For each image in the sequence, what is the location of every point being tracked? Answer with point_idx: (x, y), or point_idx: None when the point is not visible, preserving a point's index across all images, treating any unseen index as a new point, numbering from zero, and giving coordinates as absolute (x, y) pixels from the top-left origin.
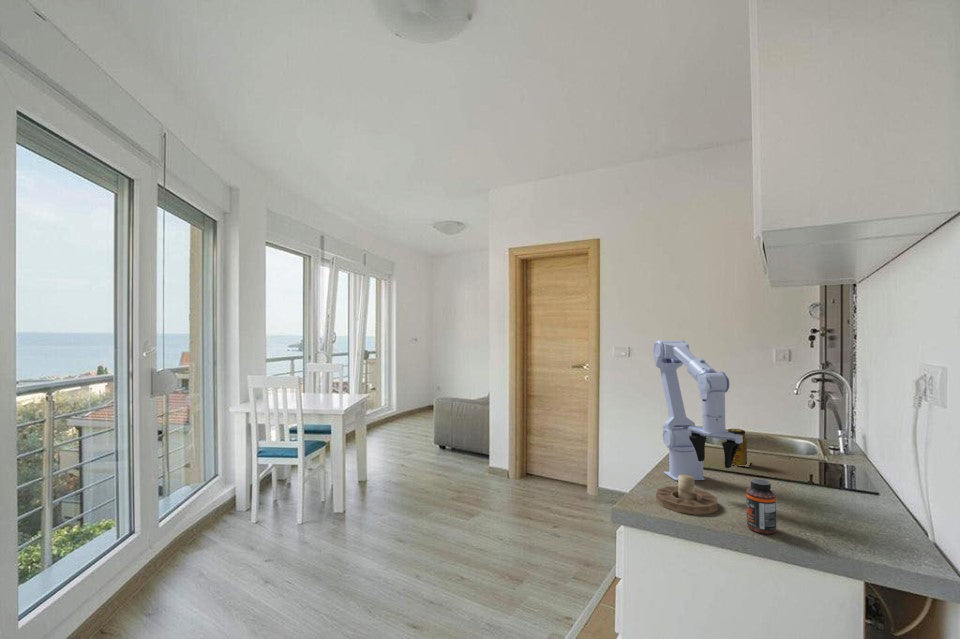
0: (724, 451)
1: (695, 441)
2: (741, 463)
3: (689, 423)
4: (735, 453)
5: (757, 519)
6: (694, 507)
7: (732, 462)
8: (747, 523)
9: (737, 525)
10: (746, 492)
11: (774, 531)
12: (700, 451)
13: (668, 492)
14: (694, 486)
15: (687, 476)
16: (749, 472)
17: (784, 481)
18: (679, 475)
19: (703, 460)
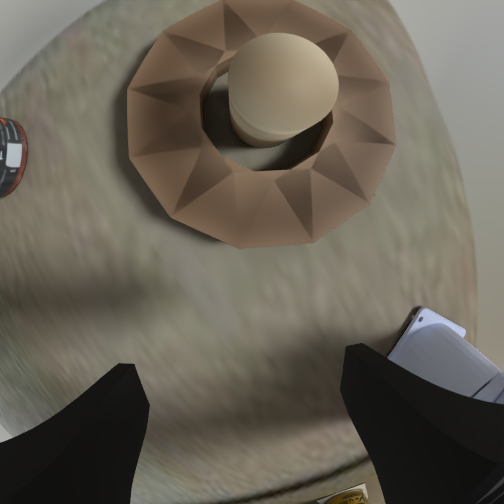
0: (57, 448)
1: (480, 437)
2: (332, 502)
3: None
4: None
5: None
6: (161, 33)
7: (350, 495)
8: (15, 123)
9: (45, 112)
10: None
11: None
12: (382, 408)
13: (339, 78)
14: (236, 116)
15: (290, 97)
16: (302, 493)
17: (223, 499)
18: (332, 73)
19: (341, 382)
